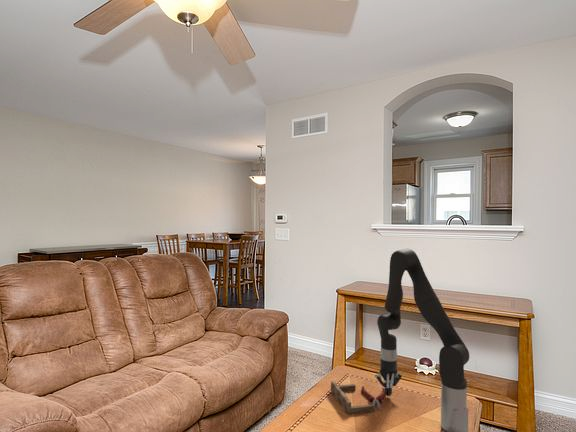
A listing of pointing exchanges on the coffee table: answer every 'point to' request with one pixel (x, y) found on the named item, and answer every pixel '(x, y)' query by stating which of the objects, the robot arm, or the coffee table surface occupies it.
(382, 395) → the pliers
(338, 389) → the tool rest
